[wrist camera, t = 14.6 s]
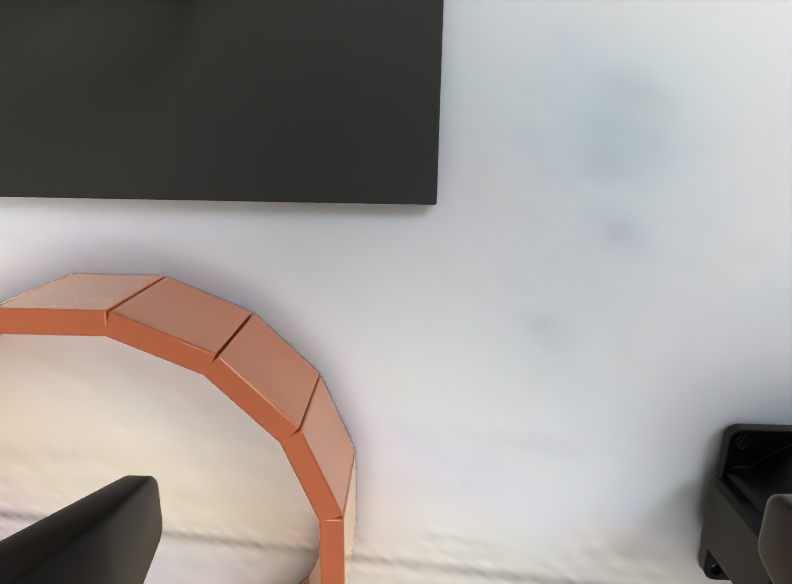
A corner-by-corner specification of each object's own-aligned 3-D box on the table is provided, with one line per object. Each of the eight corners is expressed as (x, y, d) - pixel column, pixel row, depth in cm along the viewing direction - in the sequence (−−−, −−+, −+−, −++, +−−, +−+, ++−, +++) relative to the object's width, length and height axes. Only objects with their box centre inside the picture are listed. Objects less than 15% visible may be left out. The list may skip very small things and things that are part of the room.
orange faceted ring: (355, 279, 20) (341, 315, 16) (357, 655, 25) (346, 753, 21) (-113, 269, 20) (-236, 302, 17) (-25, 640, 25) (-105, 734, 21)
